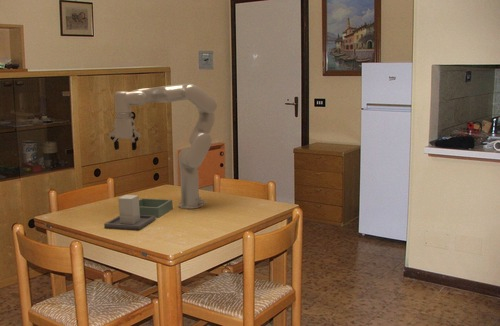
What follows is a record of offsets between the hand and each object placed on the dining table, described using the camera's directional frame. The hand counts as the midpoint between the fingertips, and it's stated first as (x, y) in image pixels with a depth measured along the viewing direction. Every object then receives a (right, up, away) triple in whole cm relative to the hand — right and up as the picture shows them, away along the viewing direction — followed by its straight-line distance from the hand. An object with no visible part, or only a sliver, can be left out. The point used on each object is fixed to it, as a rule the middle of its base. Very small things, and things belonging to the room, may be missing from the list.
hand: (125, 149), depth 291 cm
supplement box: (+5, -35, -14) cm, 38 cm away
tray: (+5, -36, -14) cm, 39 cm away
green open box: (+11, -32, +7) cm, 35 cm away
